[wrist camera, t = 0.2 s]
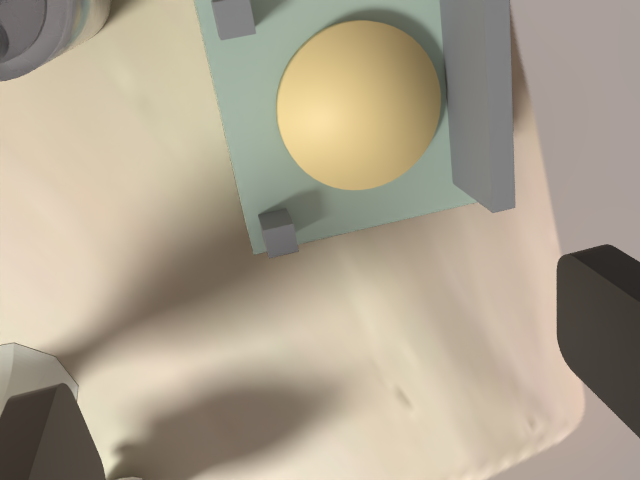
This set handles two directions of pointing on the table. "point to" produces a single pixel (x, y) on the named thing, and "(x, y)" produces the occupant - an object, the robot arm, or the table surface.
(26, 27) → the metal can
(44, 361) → the vase
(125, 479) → the toy
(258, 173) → the green and yellow block
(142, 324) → the table surface
